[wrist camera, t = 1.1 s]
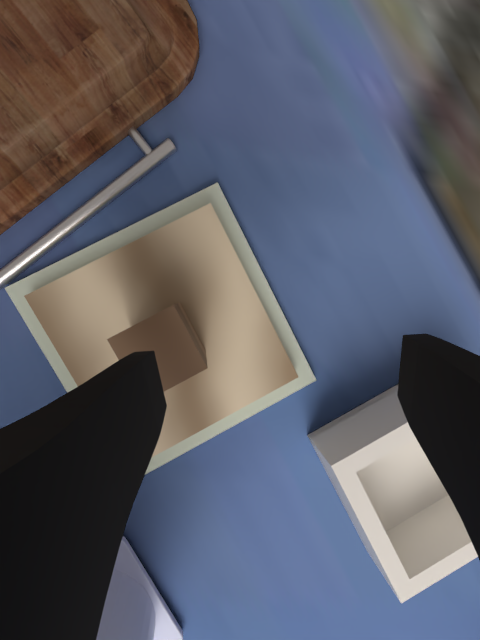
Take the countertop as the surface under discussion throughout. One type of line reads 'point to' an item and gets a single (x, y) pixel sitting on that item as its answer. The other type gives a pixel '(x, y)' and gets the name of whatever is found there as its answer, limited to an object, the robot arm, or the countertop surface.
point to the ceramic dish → (393, 495)
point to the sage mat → (135, 232)
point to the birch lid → (170, 322)
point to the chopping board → (82, 98)
